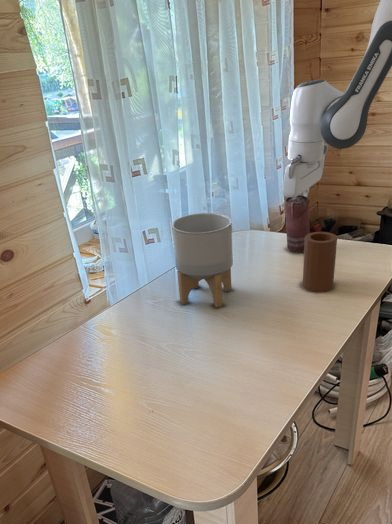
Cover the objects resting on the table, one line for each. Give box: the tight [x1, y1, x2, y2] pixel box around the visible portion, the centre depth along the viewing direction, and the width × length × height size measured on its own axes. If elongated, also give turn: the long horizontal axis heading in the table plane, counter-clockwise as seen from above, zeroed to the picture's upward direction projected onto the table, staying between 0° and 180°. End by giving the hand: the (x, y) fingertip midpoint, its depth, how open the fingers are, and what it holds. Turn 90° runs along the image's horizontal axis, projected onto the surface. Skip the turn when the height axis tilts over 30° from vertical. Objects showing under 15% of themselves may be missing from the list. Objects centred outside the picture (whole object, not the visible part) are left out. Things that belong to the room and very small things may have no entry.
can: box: [284, 195, 311, 254], centre depth 137 cm, size 6×6×14 cm
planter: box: [171, 212, 234, 308], centre depth 116 cm, size 13×13×18 cm
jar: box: [302, 231, 338, 293], centre depth 119 cm, size 7×7×12 cm
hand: (301, 205), depth 138 cm, fingers closed
